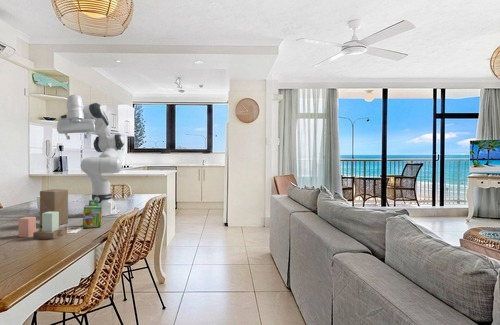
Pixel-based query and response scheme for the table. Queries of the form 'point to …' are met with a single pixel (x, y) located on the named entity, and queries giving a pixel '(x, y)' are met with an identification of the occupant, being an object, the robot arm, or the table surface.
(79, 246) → the table surface
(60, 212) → the wooden block
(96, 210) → the green printed box
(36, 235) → the walnut base
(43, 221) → the sage brick
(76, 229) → the page
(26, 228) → the coral brick
